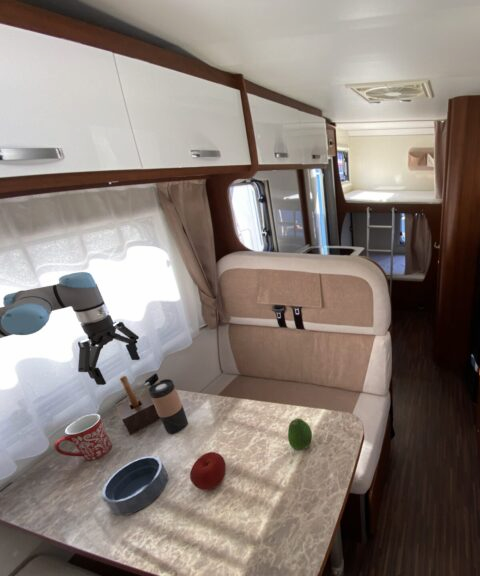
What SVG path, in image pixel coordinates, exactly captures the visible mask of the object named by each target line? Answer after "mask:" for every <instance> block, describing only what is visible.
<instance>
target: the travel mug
mask: <svg viewBox="0 0 480 576" xmlns="http://www.w3.org/2000/svg"><path fill="white" fill-rule="evenodd" d="M147 392H148V393H149V394H150V396H151V399H152V401H153V403H154V406H155V408H156V411H157V413H158V415H159V417H160V422H161V423H162V425H163V427H164V430H165V432H166V433H167V434H169V435H175V434H178V433H180V432H181V431H183V430H185V429H186V427H187V426H188V424H189V421H188V418H187V414H186V411H185V408H184V406H183V403H182V401H181V398H180V395H179V394H178V391H177V388H176V387H175V383H174V381H173V380H172V379H168V378H166V379H162V380H160V381H159V382H156V383H155V384H152V385H150V386H149V388H148V390H147Z"/></svg>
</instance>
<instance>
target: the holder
mask: <svg viewBox="0 0 480 576" xmlns="http://www.w3.org/2000/svg"><path fill="white" fill-rule="evenodd" d="M136 398H137V400H138V403H139V405H140V406H138V407H136V408H133V406H132V404H131V402H130V400H127V401H125V402H124V403H122V404H121V403H120V404H119V405H117V406H116V409H117V411H118V414H119V416H120V418H121V421H122V423H123V425H124V427H125V428H126V430H127V433H128V434H129V436H132V435H134V434H136V433H138V432H139V431H142V430H143V429H145V428H147V427H149V426H151V425H152V424H154V423H156V422H158V421H161V419H160V417H159V415H158V413H157V411H156V408H155V406H154V403H153V401H152V399H151V396H150V394H149V391H147V392H145V393H143V394H140V395H138V396H136Z"/></svg>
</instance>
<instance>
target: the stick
mask: <svg viewBox="0 0 480 576" xmlns="http://www.w3.org/2000/svg"><path fill="white" fill-rule="evenodd" d="M119 381H120V384H121V386H122V388H123V389H124V391H125V394H126V395H127V398H128V399H129V400H128V401H130V402H131V404H132V406H133V408H136V407H138V406H140V405H139V403H138V400H137V398H136V397H137V396H136V394H135V392H134V390H133V387H132V386H131V383H130V381H129V379H128V377H127V376H126V375H121V376H120V377H119Z"/></svg>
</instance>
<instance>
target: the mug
mask: <svg viewBox="0 0 480 576" xmlns="http://www.w3.org/2000/svg"><path fill="white" fill-rule="evenodd" d="M101 418H102V417H101V415H100V414H99V413H91V414H87V415H84V416H82V417H80V418H77V419H76V420H74V421H73V422H71V423H70V424H68V426H66V428H65V430H64V433H65V435H66V436H62V437H61V438H59V439H57V440H56V441H55V443H54V449H55V451H56V452H57V453H59V454H61V455H64V456H67V457H68V456H69V457H80V458H81V457H82V458H84V460H86V461H96V460H98V459H100V458H101V457H103V456H105V455H106V454H107V453H108V452H109V451H111V449H112V443H111V441H110V438H109V436H108V434H107V431H106V428H105V426H104V423H103V421H102V419H101ZM65 441H67V442H70V443H73V444H74V446H75V447H76V449H77V450H78V451H75V452H72V451H67V450H62V449H61V448H60V447H59V445H60V444H61V443H62V442H65Z"/></svg>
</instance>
